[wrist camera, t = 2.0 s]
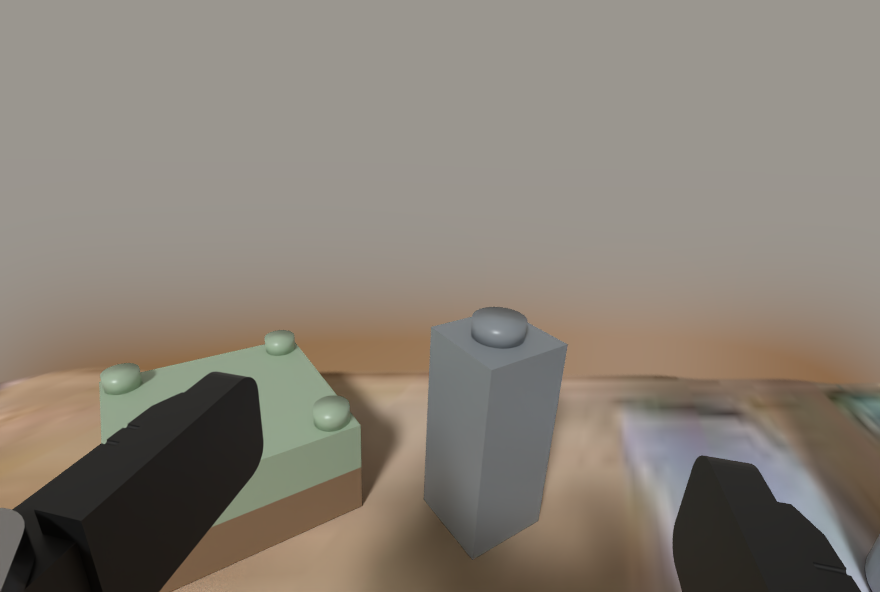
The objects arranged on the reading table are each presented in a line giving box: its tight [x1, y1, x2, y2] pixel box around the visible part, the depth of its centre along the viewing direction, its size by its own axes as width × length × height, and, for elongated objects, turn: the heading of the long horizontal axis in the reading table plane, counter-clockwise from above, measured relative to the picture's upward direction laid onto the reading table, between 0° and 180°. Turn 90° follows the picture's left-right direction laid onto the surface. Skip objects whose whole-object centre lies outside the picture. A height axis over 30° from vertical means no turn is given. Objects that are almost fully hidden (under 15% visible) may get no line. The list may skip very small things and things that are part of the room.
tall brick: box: [424, 307, 567, 560], centre depth 27 cm, size 5×5×13 cm
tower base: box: [99, 330, 362, 592], centre depth 29 cm, size 12×12×7 cm
